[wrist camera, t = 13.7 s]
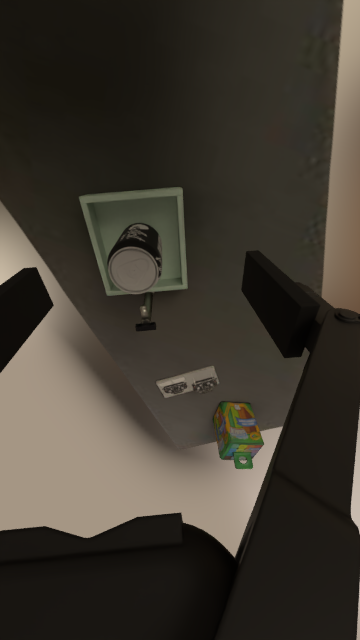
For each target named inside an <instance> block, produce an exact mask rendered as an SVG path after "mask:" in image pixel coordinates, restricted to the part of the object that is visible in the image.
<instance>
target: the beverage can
mask: <svg viewBox="0 0 360 640" xmlns="http://www.w3.org/2000/svg"><path fill="white" fill-rule="evenodd" d="M107 267H108V271H109V276H110V278H111V280H112V282H113V283H114V284H115V286H116V287H118V288H119V289H120V290H122V291H124V292H126V293H130V294H142V293H145V292H147V291H149V290H150V289H151V288H152V287H153V286H154V285H155V284H156V283H157V282H158V281H159V279H160V277H161V274H162V240H161V237H160V235H159V234H158V232H157V231H156V230H155V229H154V228H153V227H151V226H150V225H148V224H144V223H134V224H131V225H129V226H128V227H127V228H126V229H125V230H124V231H123V233H122V234H121V236H120V237H119V239H118V240H117V242H116V243H115V245H114V246H113V248H112V250H111V251H110V253H109V255H108V259H107Z"/></svg>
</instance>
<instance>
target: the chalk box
mask: <svg viewBox="0 0 360 640" xmlns="http://www.w3.org/2000/svg"><path fill="white" fill-rule="evenodd" d="M213 423H214V428H215V434H216V439H217V444H218V449H219V455H220V458H221V459H223V460H234V463H235V468H236V469H252V468H253V463H252V458H253V457H254V456H255V455H256V453H257V452H258V451H259V450H260V449H261V447H262V446H263V445H264V442H263V440H262V437H261V434H260V431H259V428H258V425H257V422H256V419H255V417H254V414H253V411H252V408H251V405H250V403H232V402H221V403H220V405H219V407H218V409H217V411H216V413H215V415H214V418H213ZM239 460H247V462H246V463H245V464H242V463H240V461H239Z"/></svg>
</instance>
